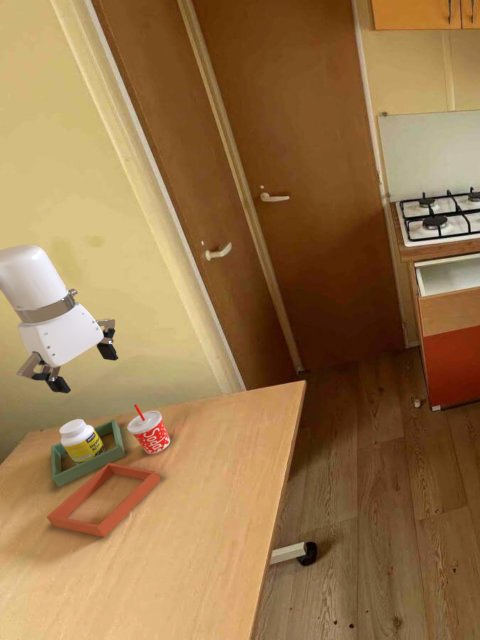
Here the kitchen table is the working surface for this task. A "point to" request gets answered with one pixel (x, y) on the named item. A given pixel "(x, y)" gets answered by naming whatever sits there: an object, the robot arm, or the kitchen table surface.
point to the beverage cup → (149, 431)
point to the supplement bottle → (81, 441)
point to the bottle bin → (92, 463)
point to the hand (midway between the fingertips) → (88, 374)
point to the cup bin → (93, 484)
